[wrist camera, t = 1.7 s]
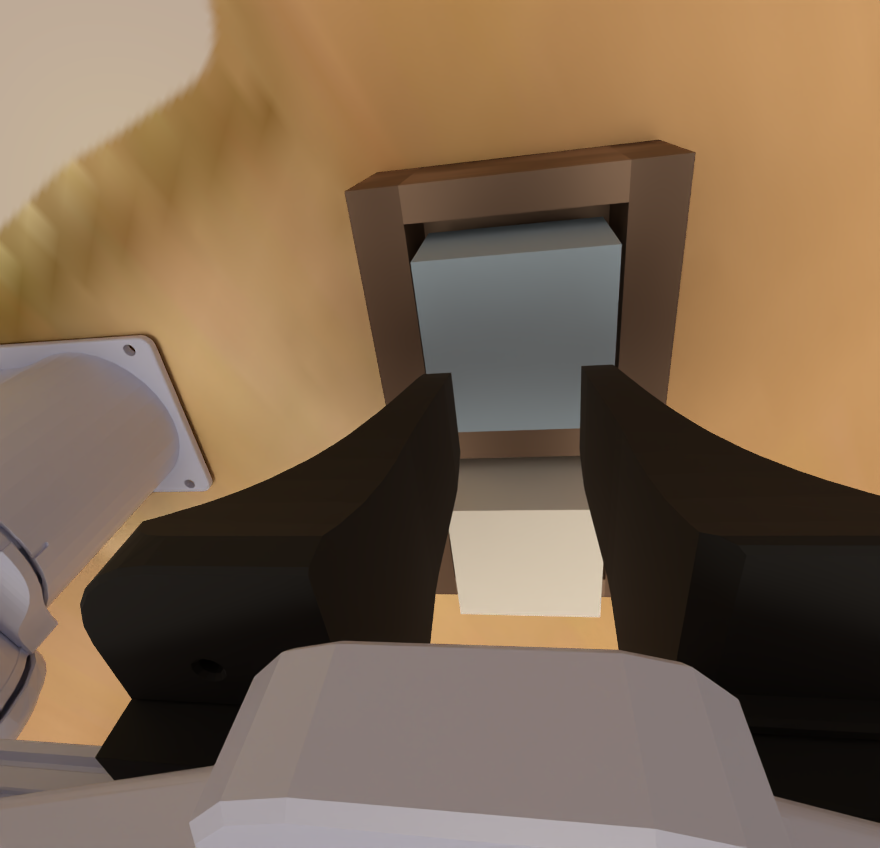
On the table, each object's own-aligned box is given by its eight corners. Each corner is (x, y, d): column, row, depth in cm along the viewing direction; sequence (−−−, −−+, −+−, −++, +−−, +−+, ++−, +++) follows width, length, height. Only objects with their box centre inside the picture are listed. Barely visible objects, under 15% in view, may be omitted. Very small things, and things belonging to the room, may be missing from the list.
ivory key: (467, 551, 23) (460, 613, 20) (455, 454, 20) (446, 511, 17) (589, 552, 22) (600, 617, 19) (593, 450, 19) (606, 509, 16)
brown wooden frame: (434, 529, 26) (422, 593, 23) (376, 172, 18) (344, 191, 15) (625, 528, 25) (643, 597, 21) (658, 139, 16) (695, 152, 13)
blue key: (446, 383, 18) (434, 433, 16) (428, 233, 16) (410, 262, 13) (596, 375, 18) (611, 427, 15) (602, 216, 15) (621, 244, 12)
